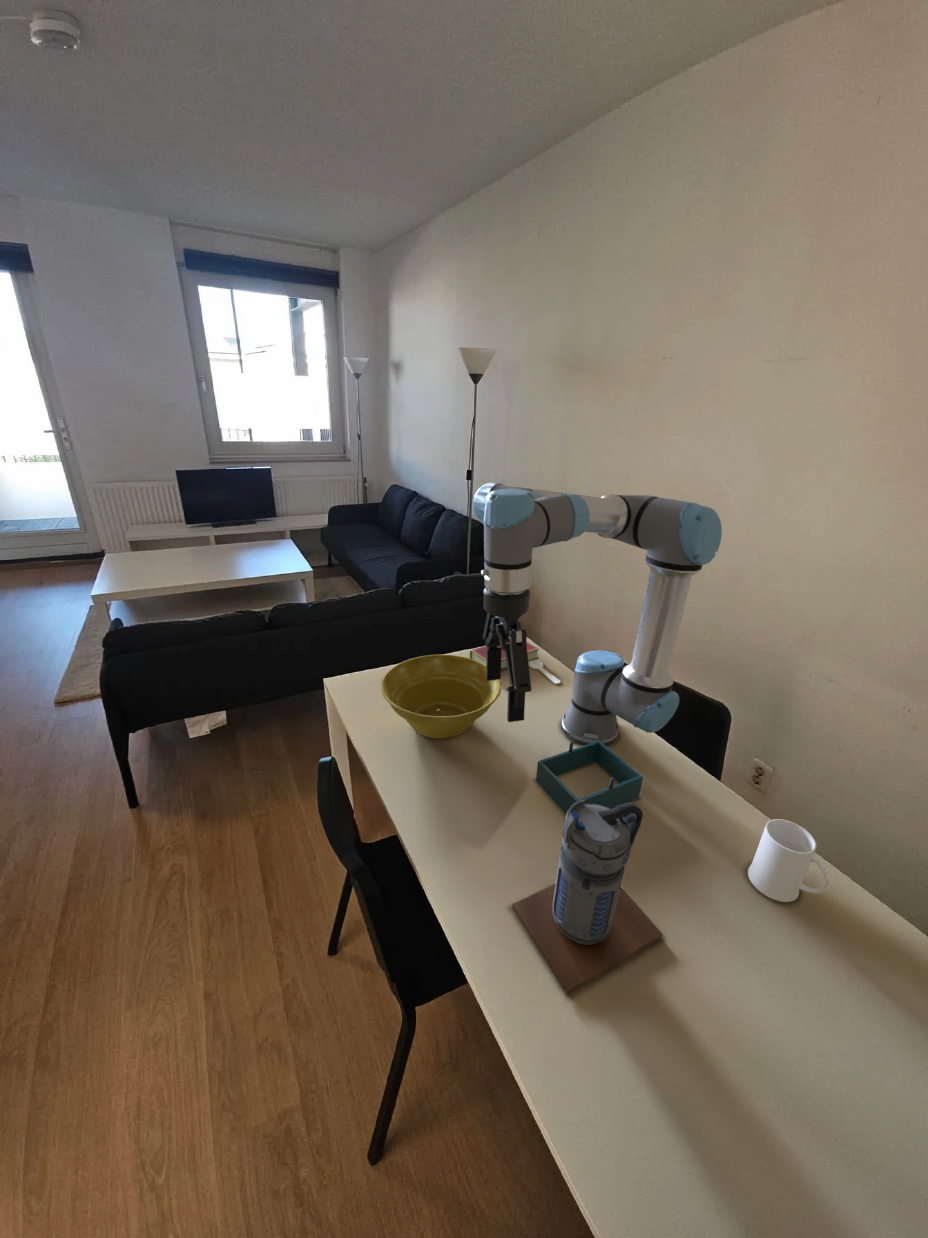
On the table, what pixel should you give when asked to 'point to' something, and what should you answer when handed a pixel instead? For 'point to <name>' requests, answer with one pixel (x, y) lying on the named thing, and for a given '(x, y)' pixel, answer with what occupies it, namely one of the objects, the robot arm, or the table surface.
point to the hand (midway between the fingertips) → (503, 698)
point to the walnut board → (580, 960)
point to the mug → (784, 861)
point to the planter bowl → (440, 693)
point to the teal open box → (583, 757)
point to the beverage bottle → (592, 868)
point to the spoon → (543, 670)
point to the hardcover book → (480, 654)
